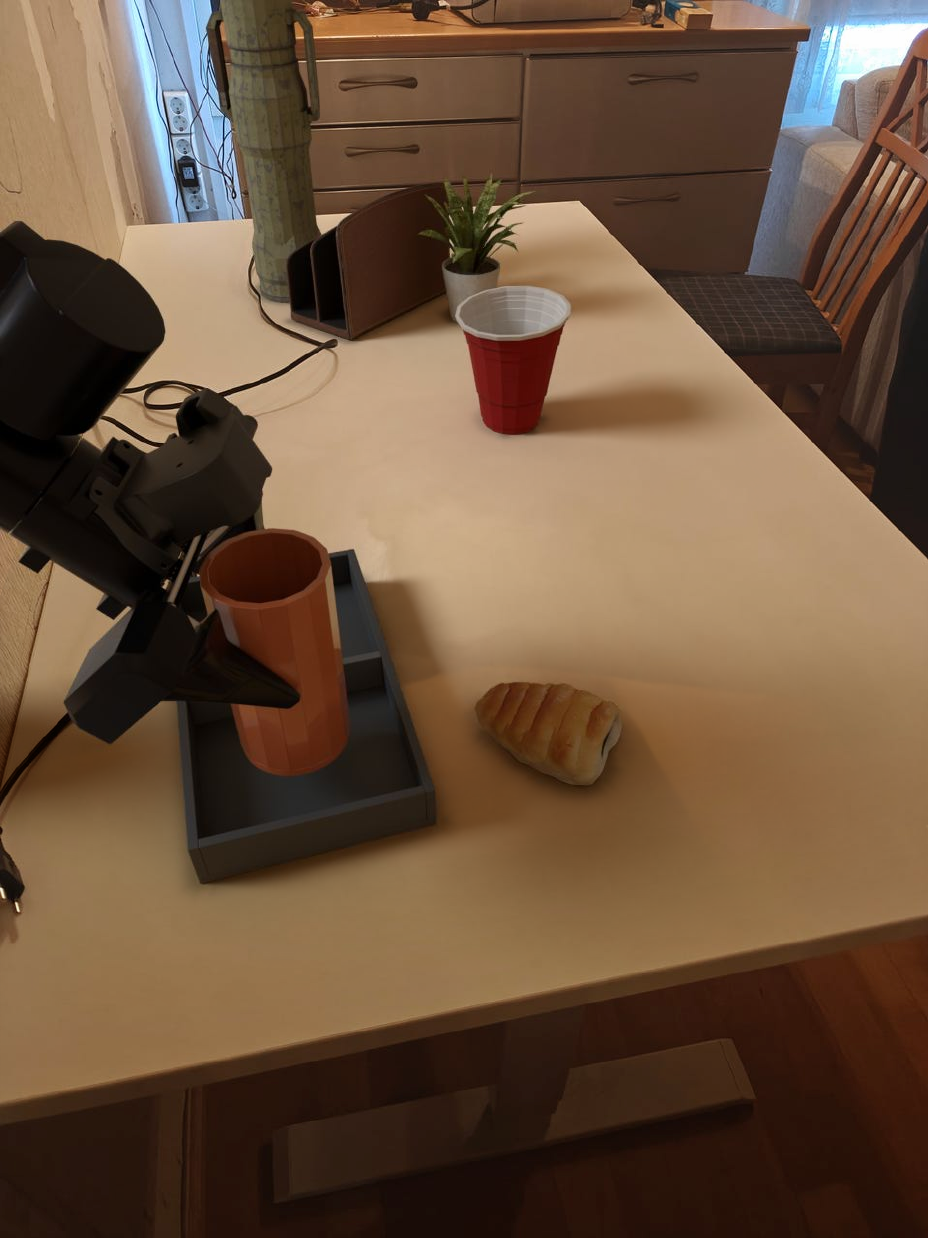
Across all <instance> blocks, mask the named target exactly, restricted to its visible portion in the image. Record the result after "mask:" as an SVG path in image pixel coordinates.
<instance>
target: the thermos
mask: <svg viewBox="0 0 928 1238" xmlns="http://www.w3.org/2000/svg"><path fill="white" fill-rule="evenodd" d="M220 7H221V8H220V9H219V10H217V11H214V12H211V13H210V15H209V18H208V21H207V24H206V26H205V32H206V37H207V42H208V46H209V51H210V57H211V62H212V68H213V73H214V79H215V83H216V88H217V89H216V90H217V95H218V103H219V110H220V112H222V113H223V114H224V115H225V117H227V119H229V120H230V122H231V123H233V127H234V128H233V129H234V134H235V140H236V141H235V142H236V144H237V146H238V148H239V149H240V151H241V153H242V160H243V166H244V173H245V179H246V184H247V185H246V186H247V193H248V198H249V206H250V212H251V219H252V224H253V225H252V226H253V237H252V241H251V246H252V253H253V254H252V255H253V260H254V267H255V271H256V272H255V273H256V276H257V277H258V280H259V281H258V282H259V291H260V296H262V297H263V298H265V299H267V300H269V301H272V302H278V303H288V304H290V300H289V291H288V282H287V273H286V260H287V258H288V256H289V255H290V254H291V253H292V252H293V251H294V250H296V249H297V248H299V247H300V246H302V245H303V244H305V243H307V242H308V241H310V240H312V239H314V238H316V237H318V236H320V235H322V232H321V230H320V229H319V225H318V222H317V213H316V204H315V203H316V202H315V194H314V184H313V176H312V175H313V174H312V167H311V166H312V164H311V157H310V147H311V144H312V139H313V136H312V128H311V127H312V126H311V124H312V122H317V121H319V120H320V118H321V106H320V90H319V80H318V79H319V78H318V69H317V58H316V57H317V56H316V47H315V37H314V27H313V24H312V23H311V21H310V20H309V18H308V16H307V15H306V13H305V11H298V9H297V8H294V7H293V0H220ZM222 23H223V26H224V35H225V40H226V46H227V47H228V48H229V49H228V50H229V55H230V60H229V67H230V79H229V76H228V70H227V69H228V68H227V63H226V57H225V52H224V51H225V49H224V45H223V44H224V43H223V38H222V31H221V25H222ZM295 23H298V25H299V26H300V27H301V29H302V32H303V34H302V35H303V42H304V52H305V63H306V72H307V81H308V90H307V87H306V85H305V82H304V79H303V77H302V74H301V71H300V64H299V63H300V62H299V59H298V57H297V53H296V45H297V37H296V27H295ZM308 93H309V98H308ZM309 101H310V106H309Z"/></svg>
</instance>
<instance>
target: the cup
mask: <svg viewBox="0 0 928 1238" xmlns="http://www.w3.org/2000/svg"><path fill="white" fill-rule="evenodd" d="M328 553H329V551H328V549H327V547H326V546H324V545H323V544H322V543H321V542H320V541H319V540H318V539H317V538H315V536H312V535H310V534H306V533H304V532H302V531H298V530H295V529H288V528H275V527H269V528H265V529H262V530H255V531H249V532H245V533H242V534H240V535H237V536H235V537H232V538H230V539H227V540H225V541H224V542H222V543H221V544H220V545H218V546H217V547H216V548H215V549H213V550H212V551H211V552H209V553H208V554H207V556H206V558H205V560H204V562H203V563H202V565H201V567H200V570H199V574H200V575H199V576H200V585H201V589H202V593H203V597H204V601H205V605H206V609H207V613H208V615H209V614H210V613H211V612H212V611H213V610H215V609H217V610H218V611H219V614H220V617H221V621H222V624H223V627H224V631H225V634H226V637H227V639H228V640H229V641H230V642H231V643H233V644H234V645H236V646H237V647H238V648H240V649H241V650H243V651H244V652H246V653H247V654H248V655H250V656H251V657H253V658H254V659H256V660H257V661H258V662H260V663H261V664H263V665H264V666H266V667H267V668H268V669H270V670H271V671H273V672H274V673H276V674H277V675H278V676H280V677H281V678H283V679H284V680H285V681H286V682H287V683H288V684H290V685H291V686H292V687H293V688H294V689H295V690H297V691H298V692H299V693H300V695H301V698H300V701H299V702H298V703H297V704H296V705H294V706H293V707H292V708H289V709H282V708H272V707H262V706H251V705H241V704H231V707H232V711H233V715H234V719H235V723H236V727H237V730H238V734H239V738H240V742H241V745H242V747H243V750H244V753H245V755H246V756H247V758H248V759H249V760H250V762H251V763H252V764H254V765H255V766H256V767H257V768H259V769H261V770H263V771H265V772H267V773H270V774H274V775H279V776H299V775H304V774H308V773H312V772H314V771H317V770H319V769H321V768H323V767H325V766H327V765H328V764H330V763H331V762H332V761H333V760H335V759H336V758H337V757H338V756H339V755H340V754H341V752H342V751H343V750H344V748H345V746H346V744H347V742H348V739H349V735H350V717H349V709H348V701H347V692H346V684H345V676H344V668H343V659H342V651H341V643H340V635H339V627H338V618H337V610H336V602H335V594H334V585H333V577H332V569H331V562H330V558H329V555H328Z"/></svg>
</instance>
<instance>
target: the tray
mask: <svg viewBox="0 0 928 1238" xmlns="http://www.w3.org/2000/svg"><path fill="white" fill-rule="evenodd" d="M328 555H329V558H330V562H331V569H332V577H333V585H334V594H335V602H336V610H337V618H338V627H339V635H340V643H341V651H342V659H343V668H344V676H345V684H346V692H347V701H348V709H349V717H350V735H349V739H348V742H347V744H346V746H345V748H344V750H343V751H342V752H341V754H340V755H339V756H338V757H337V758H336V759H335V760H333V761H332V762H331V763H330V764H328V765H327V766H325V767H323V768H321V769H319V770H317V771H314V772H312V773H308V774H304V775H299V776H279V775H274V774H270V773H267V772H265V771H263V770H261V769H259V768H257V767H256V766H255V765H254V764H252V763H251V762H250V760H249V759H248V758H247V756H246V755H245V753H244V750H243V747H242V745H241V742H240V738H239V734H238V730H237V727H236V723H235V719H234V715H233V711H232V707H231V703H222V702H221V703H219V702H207V701H176V711H177V712H176V713H177V726H178V737H179V739H178V740H179V750H180V764H181V779H182V792H183V794H182V795H183V803H184V804H183V805H184V806H183V807H184V818H185V819H184V820H185V833H186V846H187V848H186V849H187V852H188V855H189V857H190V860H191V861H190V862H191V864H192V866H193V868H194V871H195V874H196V876H197V879H198V881H199V884H206V883H208V882H213V881H218V880H221V879H225V878H229V877H234V876H236V875H242V874H245V873H250V872H253V871H257V870H260V869H265V868H269V867H274V866H276V865H281V864H285V863H288V862H292V861H296V860H297V861H298V860H300V859H304V858H308V857H313V856H316V855H321V854H324V853H328V852H331V851H336V850H340V849H344V848H348V847H353V846H356V845H359V844H363V843H368V842H372V841H377V840H380V839H384V838H388V837H392V836H396V835H400V834H404V833H408V832H411V831H416V830H419V829H424V828H427V827H431V826H435V825H437V824H438V821H437V819H438V818H437V791H436V787H435V784H434V781H433V778H432V775H431V772H430V769H429V765H428V763H427V761H426V758H425V755H424V751H423V749H422V746H421V742H420V740H419V737H418V733H417V730H416V728H415V726H414V722H413V719H412V717H411V713H410V711H409V708H408V704H407V702H406V699H405V696H404V693H403V690H402V687H401V684H400V680H399V678H398V675H397V671H396V669H395V666H394V663H393V660H392V657H391V654H390V651H389V648H388V646H387V642H386V639H385V637H384V636H385V635H384V633H383V631H382V628H381V625H380V622H379V620H378V616H377V613H376V610H375V607H374V604H373V601H372V597H371V595H370V592H369V589H368V586H367V584H366V580H365V577H364V575H363V572H362V568H361V565H360V563H359V560H358V556H357V554H356V550H355V549H354V548H351V549H347V550H339V551H334V552H328ZM178 609H179V610H181V611H182V612H184V613H186V614H187V615H189V616H190V617H192V618H193V619H195V620H196V621H198V622H199V623H200V622H201V621H202V620H203V619H205V618H206V617H207V616H208V613H207V609H206V605H205V601H204V597H203V593H202V589H201V585H200V575H198V576H191V577H190V579H189V582H188V584H187V587H186V589H185V592H184V594H183V597H182V599H181V602H180V604H179V606H178Z"/></svg>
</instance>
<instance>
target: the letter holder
mask: <svg viewBox="0 0 928 1238" xmlns="http://www.w3.org/2000/svg"><path fill="white" fill-rule="evenodd" d="M425 194H426V195H427V196H429V197H431V198H433V199H434V200H435V201H436V202H437V203H438V204H439V205H440V206H441V207H442V208H443V209H444V210H445V212H446V213H447V215H448V216H449V217H450V215H449V214H448V212H447V210H446V207H445V204H444V202H445V203H446V204H447V205H448V206H449V201H448V197H447V193H446V188H445V185H444V182H441V181H440V182H438V181H437V182H436V181H435V182H427V183H422V184H417V185H413V186H410V187H407V188H403V189H400V190H399V189H398V190H397V191H393V192H391V193H387V194H385V195H383V196H381V197H379V198H377V199H374V200H373V201H371V202H369V203H367V204H365V205H363V206H362V207H360V208H358V209H357V210H355V211H353V212H351V213H350V214H348V215H347V216H344V218H342V219H341V220H340V221H339V222H338V224H337V225H336V226H334V227H332V228H331V229H329V230H327V231H326V232H324V233H321V235H320V236H318V237H316V238H314V239H312V240H310V241H308V242H307V243H305V244H303V245H302V246H300V247H299V248H297V249H296V250H294V251H293V252H292V253H291V254H290V255H289V256H288V258H287V260H286V273H287V282H288V291H289V300H290V303H289V308H290V318H291V319H290V320H291V321H294V322H296V323H300V324H302V325H305V326H308V327H310V328H313V329H317V330H320V331H323V332H325V333H328V334H331V335H334V336H337V337H340V338H343V339H345V340H348V341H352V340H354V339H356V338H357V337H359V336H361V335H363V334H366V333H367V332H369V331H371V330H373V329H374V328H376V327H379V326H380V325H382V324H384V323H387V322H389V321H390V320H393V319H394V318H396V317H398V316H401V315H403V314H405V313H407V312H409V311H411V310H413V309H415V308H417V307H419V306H422V305H423V304H425V303H427V302H430V301H431V300H432V299H435V298H437V297H440V296H441V295H443V294H445V293H446V288H445V282H444V277H443V271H442V263H443V262H444V261H445V260H446V259H448V258H451V248H450V247H449V246H448V245H447V244H446V243H445V242H443V241H441V240H439V239H436V238H433V237H429V236H425V235H420V234H419V233H420V232H422V231H424V230H433V231H436V232H438V233H440V234H441V235H443V236H444V237H445V238H446V239H447V240H449V241H450V242H451V240H450V239H449V237H448V236H447V234H446V233H445V230H444V229H445V228H446V227H448V225H447V223H446V221H445V220H444V218H443V217H442V215H441V214H440V213H439V212H438V211H437V209H436V208H435V206H434V205H433V203H432V202H431V201H430V200H429V199H428V198H427V197H426V196H425Z"/></svg>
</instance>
